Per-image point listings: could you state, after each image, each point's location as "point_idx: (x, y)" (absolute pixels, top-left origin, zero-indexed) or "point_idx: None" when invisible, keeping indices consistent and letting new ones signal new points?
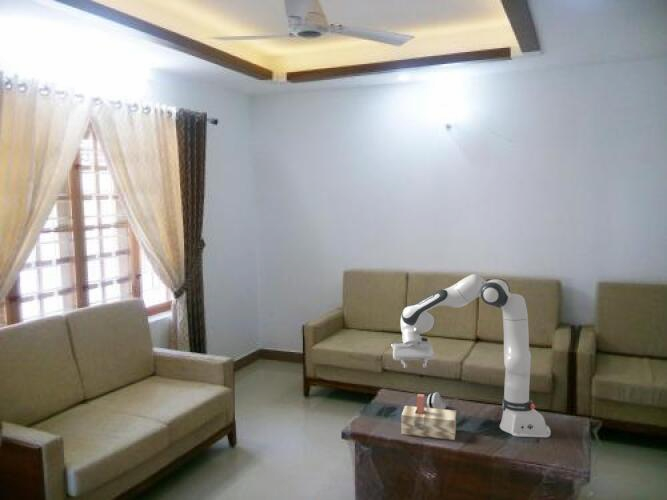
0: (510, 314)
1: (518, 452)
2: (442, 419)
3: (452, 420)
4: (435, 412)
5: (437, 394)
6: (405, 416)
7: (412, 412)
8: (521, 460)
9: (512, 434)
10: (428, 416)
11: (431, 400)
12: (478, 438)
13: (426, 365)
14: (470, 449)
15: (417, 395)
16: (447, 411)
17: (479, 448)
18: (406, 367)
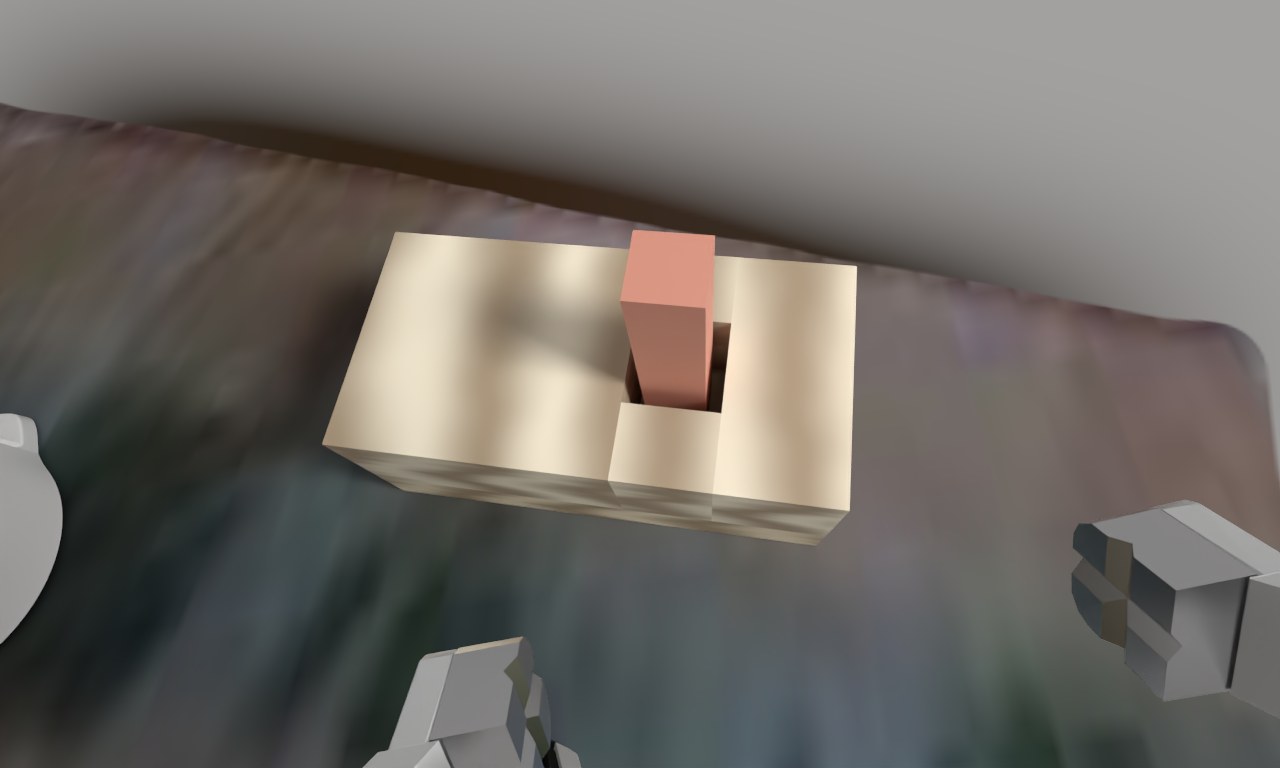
0: None
1: (133, 220)
2: (492, 239)
3: (414, 234)
4: (531, 370)
5: None
6: (815, 269)
7: (755, 339)
8: (164, 144)
9: (35, 438)
10: (606, 273)
11: None
12: (289, 359)
13: (419, 664)
14: (388, 211)
15: (709, 254)
16: (412, 411)
17: (331, 230)
18: (1089, 566)
